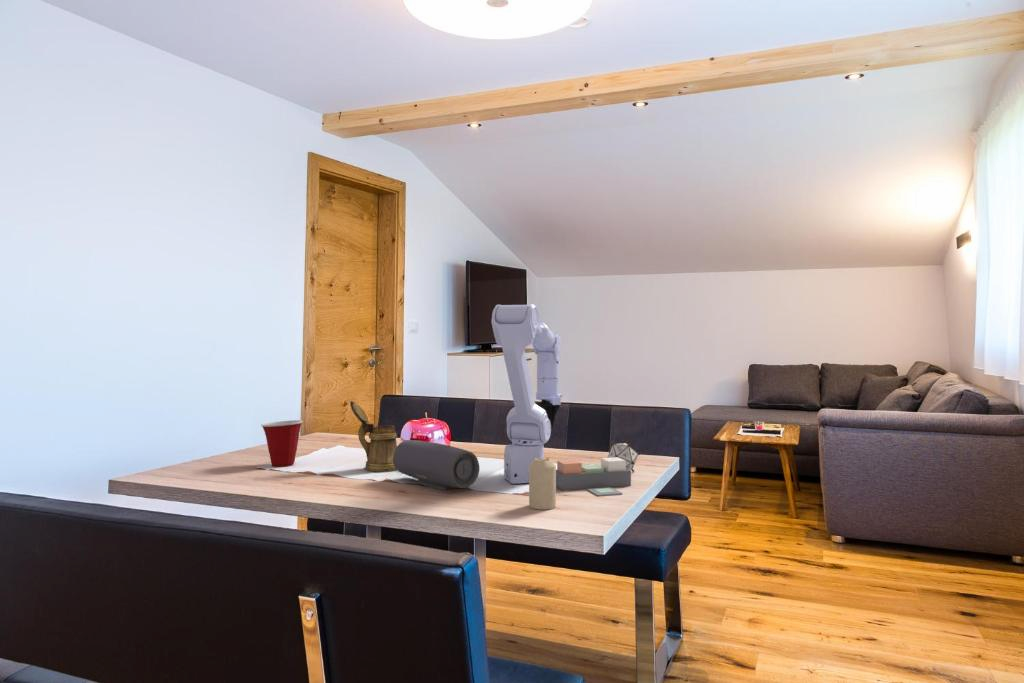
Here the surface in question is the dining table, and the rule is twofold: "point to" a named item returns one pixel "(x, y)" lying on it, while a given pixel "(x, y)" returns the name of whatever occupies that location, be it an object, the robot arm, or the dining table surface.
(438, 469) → the bluetooth speaker
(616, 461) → the cream button
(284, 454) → the plastic cup
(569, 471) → the terracotta button
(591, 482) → the button bar
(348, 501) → the dining table surface
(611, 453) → the game die
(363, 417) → the wooden mug
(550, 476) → the candle
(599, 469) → the sage button
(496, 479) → the dining table surface
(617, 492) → the card
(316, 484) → the dining table surface
